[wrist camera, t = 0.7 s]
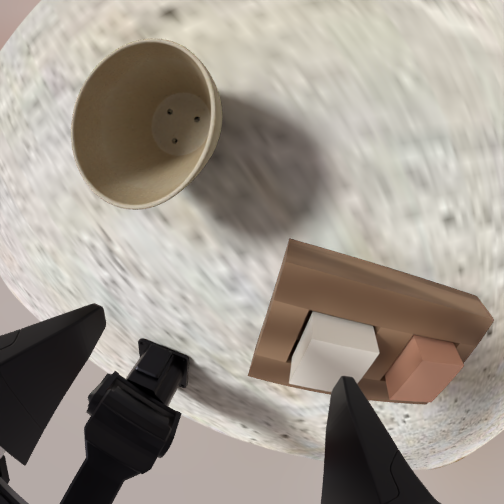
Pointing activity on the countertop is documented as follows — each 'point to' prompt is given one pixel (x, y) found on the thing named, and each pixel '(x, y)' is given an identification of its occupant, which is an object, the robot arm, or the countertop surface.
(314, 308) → the key console
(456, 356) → the terracotta key
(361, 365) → the cream key
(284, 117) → the countertop surface
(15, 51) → the countertop surface
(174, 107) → the flower pot
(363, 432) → the robot arm
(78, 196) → the countertop surface
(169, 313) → the countertop surface
